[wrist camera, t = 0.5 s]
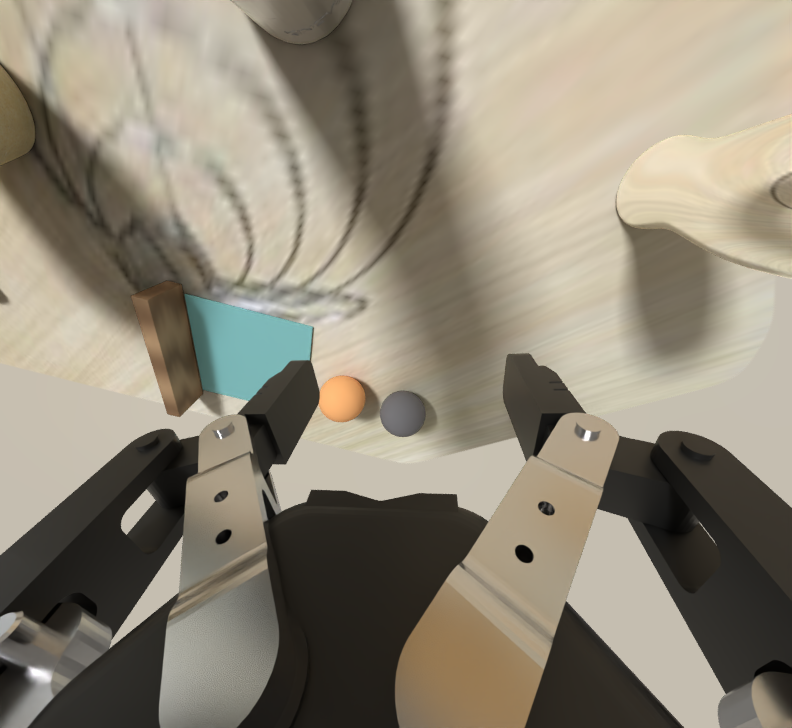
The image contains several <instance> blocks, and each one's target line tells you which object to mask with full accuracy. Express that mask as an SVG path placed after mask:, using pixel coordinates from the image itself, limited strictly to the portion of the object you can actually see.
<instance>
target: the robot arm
mask: <svg viewBox="0 0 792 728" xmlns="http://www.w3.org/2000/svg"><path fill="white" fill-rule="evenodd" d="M231 1H232V2H233V3H234V4H235V5H236V6H238V7H239V8H240V9H241V10H242V11H243V12H244V13H245V14H247V15H248V16H249V17H250V18H251V19H252V20H253V21H255V22H256V23H257V24H258V25H259V26H260V27H262V28H263V29H264V30H265V31H267V32H268V33H269V34H271V35H272V36H274V37H276V38H278V39H280V40H282V41H285V42H288V43H294V44H307V43H313V42H316V41H318V40H320V39H322V38H324V37H326V36H327V35H328V34H329V33H330V32H332V31H333V30H334V29H335V28H336V27H337V26H338V25H339V24H340V22H341V20H342V19H343V17H344V16H345V14H346V13H347V11H348V10H349V8H350V5H351V3H352V0H231ZM503 398H504V403H505V406H506V408H507V411H508V414H509V416H510V419H511V422H512V424H513V427H514V430H515V432H516V435H517V438H518V440H519V443H520V446H521V448H522V451H523V454H524V456H525V459H526V461H527V462H526V464H525V465H524V467H523V469H522V470H521V472H520V473H519V475H518V476H517V478H516V479H515V481H514V483H513V484H512V486H511V487H510V489H509V490H508V492H507V494H506V495H505V497H504V498H503V500H502V502H501V503H500V505H499V506H498V508H497V509H496V511H495V513H494V514H493V516H492V517H491V519H490V520H489V521H487V520H485V519H484V518H483V517H481V516H479V515H477V514H475V513H473V512H471V511H469V510H466V509H463V508H460V507H458V503H457V495H456V494H425V493H419V494H414V495H409V496H404V497H399V498H394V499H389V500H384V501H378V500H374V499H370V498H367V497H364V496H360V495H357V494H354V493H350V492H347V491H330V490H311V492H310V494H309V497H308V500H307V502H305V503H301V504H298V505H295V506H293V507H291V508H288V509H286V510H284V511H282V512H281V508H280V504H279V501H278V497H277V493H276V489H275V486H274V482H273V478H272V475H271V473H270V470H269V469H270V467H271V466H272V464H286V463H287V461H288V459H289V458H290V456H291V454H292V452H293V450H294V448H295V446H296V445H297V443H298V441H299V439H300V437H301V435H302V434H303V432H304V430H305V428H306V426H307V424H308V422H309V421H310V419H311V417H312V415H313V413H314V411H315V410H316V408H317V406H318V404H319V399H320V392H319V388H318V384H317V380H316V377H315V373H314V369H313V366H312V363H311V362H310V361H309V360H293V361H290V362H289V363H288V364H287V365H286V366H285V368H284V369H283V370H282V371H281V372H279V373H277V374H276V375H274V376H273V377H271V378H270V379H268V380H267V382H266V383H265V384H264V385H263V386H262V388H260V389H259V390H258V392H257V393H256V395H254V396H253V397H252V398H251V399H250V400H249V402H248V403H247V404H246V405H245V406H244V407H243V408H242V409H241V411H240V412H239V413H238V414H237V415H228V416H225V417H222V418H219V419H217V420H215V421H213V422H212V423H210V424H209V425H208V426H206V427H205V428H204V429H203V431H202V432H201V434H200V435H199V436H195V437H191V438H186V439H182V440H179V439H178V437H177V436H176V434H175V432H174V431H173V430H171V429H160V430H156V431H153V432H150V433H147V434H145V435H143V436H141V437H139V438H137V439H136V440H134V441H133V442H131V443H130V444H129V445H128V446H126V447H125V448H124V449H123V450H122V451H121V452H120V453H118V454H117V455H116V456H115V457H114V458H113V459H111V460H110V461H109V462H108V463H107V464H106V465H104V466H103V467H102V468H101V469H100V470H99V471H98V472H97V473H95V474H94V475H93V476H92V477H91V478H90V479H88V480H87V481H86V482H85V483H84V484H82V485H81V486H80V487H79V488H78V489H77V490H76V491H74V492H73V493H72V494H71V495H70V496H69V497H67V498H66V499H65V500H64V501H63V502H62V503H60V504H59V505H58V506H57V507H56V508H55V509H54V510H52V511H51V512H50V513H49V514H48V515H47V516H45V518H43V519H42V520H41V521H40V522H39V523H37V524H36V525H35V526H34V527H33V528H32V529H30V530H29V531H28V532H27V533H26V534H25V535H23V536H22V537H21V538H20V539H19V540H18V541H17V542H15V543H14V544H13V545H12V546H11V547H10V548H8V549H7V550H6V551H5V552H4V553H3V554H2V555H0V728H684V727H683V726H682V725H681V724H680V723H679V722H678V721H677V719H676V718H675V717H674V716H673V715H672V714H671V713H670V712H669V711H668V710H667V709H666V708H665V707H664V705H662V703H661V702H660V701H659V700H658V699H657V698H656V697H655V696H654V695H653V694H652V693H651V692H650V691H649V689H648V688H647V687H646V686H645V685H644V684H643V683H642V682H641V681H640V680H639V679H638V678H637V677H636V676H635V674H634V673H633V672H632V671H631V670H630V669H629V668H628V667H627V666H626V665H625V664H624V663H623V661H622V660H621V659H620V658H619V657H618V656H617V655H616V654H615V653H614V652H613V651H612V650H611V649H610V648H609V646H608V645H607V644H606V643H605V642H604V641H603V640H602V639H601V638H600V637H599V636H598V635H597V634H596V632H595V631H594V630H593V629H592V628H591V627H590V626H589V625H588V624H587V623H586V622H585V621H584V620H583V619H582V617H581V616H579V614H578V613H577V612H576V611H575V610H574V609H573V608H572V607H571V606H570V605H569V604H568V602H566V599H567V596H568V593H569V590H570V587H571V584H572V581H573V578H574V575H575V572H576V569H577V566H578V563H579V560H580V558H581V555H582V552H583V549H584V545H585V543H586V540H587V537H588V533H589V531H590V528H591V525H592V522H593V519H594V516H595V513H596V510H597V509H600V510H603V511H606V512H610V513H613V514H616V515H620V516H623V517H626V518H628V520H629V522H630V523H631V525H632V527H633V529H634V531H635V532H636V534H637V536H638V538H639V539H640V541H641V543H642V545H643V547H644V548H645V550H646V552H647V554H648V556H649V557H650V559H651V561H652V563H653V565H654V566H655V568H656V570H657V572H658V573H659V575H660V577H661V579H662V580H663V582H664V584H665V586H666V588H667V590H668V591H669V593H670V595H671V597H672V598H673V600H674V602H675V604H676V606H677V607H678V609H679V611H680V613H681V615H682V616H683V618H684V620H685V621H686V623H687V625H688V627H689V629H690V631H691V632H692V634H693V636H694V638H695V640H696V641H697V643H698V645H699V647H700V648H701V650H702V652H703V654H704V656H705V657H706V659H707V661H708V663H709V664H710V666H711V668H712V670H713V672H714V673H715V675H716V677H717V679H718V681H719V682H720V684H721V686H722V688H723V690H724V691H725V693H726V695H724V696H723V697H722V699H721V700H720V703H719V705H718V719H719V725H720V728H792V508H791V507H790V506H789V505H788V504H787V503H786V502H784V501H783V500H782V499H781V498H780V497H779V496H778V495H777V494H776V493H774V492H773V491H772V490H771V489H770V488H769V487H768V486H767V485H766V484H764V483H763V482H762V481H761V480H760V479H759V478H758V477H757V476H756V475H754V474H753V473H752V472H751V471H750V470H749V469H748V468H747V467H746V466H745V465H743V464H742V463H741V462H740V461H739V460H738V459H737V458H735V457H734V456H733V455H732V454H731V453H730V452H729V451H728V450H726V449H725V448H723V447H722V446H720V445H718V444H717V443H715V442H713V441H711V440H709V439H707V438H704V437H702V436H699V435H695V434H692V433H688V432H682V431H667V432H664V433H662V434H660V436H659V437H658V439H657V441H656V443H655V444H654V443H650V442H645V441H640V440H635V439H630V438H626V437H622V436H619V434H618V432H617V431H616V429H615V428H614V427H613V426H612V425H611V424H609V423H608V422H606V421H605V420H603V419H600V418H599V417H596V416H593V415H590V414H586V412H585V411H584V410H583V408H582V407H581V406H580V404H579V403H578V402H577V400H576V399H575V398H574V396H573V395H572V394H571V392H570V391H568V388H567V387H566V386H565V384H564V383H562V380H561V379H560V377H559V376H558V375H557V373H555V372H554V371H552V370H551V369H549V368H548V367H546V366H538V365H537V364H536V362H535V361H534V359H533V358H532V356H531V355H530V354H529V353H528V354H508V356H507V360H506V368H505V376H504V385H503ZM146 489H147V490H148V491H149V492H150V494H152V496H153V497H154V499H155V500H156V501H155V502H154V503H153V505H152V506H151V507H150V508H149V509H148V510H147V512H146V513H145V514H144V515H143V516H142V517H141V519H140V520H139V521H138V522H137V523H136V525H135V526H134V527H133V528H132V529H131V531H130V532H129V533H128V534H127V535H126V534H125V533H124V532H123V531H122V529H121V520H122V517H123V515H124V514H125V512H126V511H127V509H128V508H129V507H130V506H131V505H132V504H133V503H134V502H135V501H136V500H137V499H138V497H139V496H140V495H141V494H142V493H143V492H144V491H145V490H146ZM699 522H700V523H701V524H702V525H703V527H704V528H705V529H706V531H707V532H708V533H709V534H710V536H711V537H712V538H713V540H714V541H715V543H716V544H715V543H714V541H713V540H712V539H711V538H710V537H709V535H708V534H707V532H706V531H705V530H704V529H703V527H702V526H701V525H700V523H699ZM182 536H183V543H182V557H181V572H180V586H179V593H178V594H176V595H175V596H174V597H173V598H172V599H170V600H169V601H168V602H167V603H165V604H164V605H163V606H162V607H161V608H159V609H158V610H157V611H156V612H154V613H153V614H152V615H151V616H149V617H148V618H147V619H146V620H144V621H143V622H142V623H141V624H140V625H138V626H137V627H136V628H134V629H133V630H132V631H131V632H130V633H128V634H127V635H126V636H125V637H123V638H122V639H121V640H120V641H119V642H117V643H116V644H115V645H114V646H112V647H111V648H110V649H109V647H110V644H111V640H112V639H113V637H114V636H115V634H116V633H117V631H118V630H119V628H120V627H121V625H122V624H123V623H124V621H125V620H126V618H127V616H128V615H129V614H130V612H131V611H132V609H133V608H134V606H135V605H136V603H137V602H138V600H139V599H140V598H141V596H142V594H143V593H144V592H145V590H146V589H147V587H148V586H149V584H150V583H151V581H152V580H153V578H154V577H155V575H156V574H157V572H158V571H159V570H160V568H161V566H162V565H163V564H164V562H165V561H166V559H167V558H168V556H169V555H170V553H171V552H172V550H173V549H174V547H175V546H176V545H177V543H178V541H179V540H180V539H181V537H182Z"/></svg>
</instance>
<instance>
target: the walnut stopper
mask: <svg viewBox="0 0 792 728" xmlns="http://www.w3.org/2000/svg"><path fill="white" fill-rule="evenodd" d="M131 298H132V302H133V305H134V308H135V311H136V314H137V318H138V321H139V324H140V327H141V331H142V334H143V337H144V340H145V343H146V347H147V350H148V353H149V356H150V359H151V363H152V366H153V369H154V372H155V376H156V379H157V382H158V385H159V388H160V392H161V395H162V398H163V401H164V404H165V408H166V411H167V414H169V415H173V416H177V417H180V416H181V415H182V414H183V413H184V412H185V411H186V410H187V409H188V408H189V407H190V406H191V405H192V404H193V403H194V402H195V401H196V400H197V399H198V398H199V397H200V396H201V395H202V394H203V391H202V386H201V381H200V376H199V370H198V365H197V360H196V355H195V350H194V345H193V340H192V335H191V330H190V325H189V319H188V314H187V309H186V304H185V299H184V294H183V289H182V284H179V283H175V282H171V281H165V282H162V283H160V284H158V285H155V286H153V287H151V288H148V289H146V290H143V291H141V292H139V293H136V294H134V295H132V296H131Z"/></svg>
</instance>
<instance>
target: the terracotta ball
mask: <svg viewBox="0 0 792 728" xmlns="http://www.w3.org/2000/svg"><path fill="white" fill-rule="evenodd" d="M364 405H365V392H364V389H363V388H362V386H361V384H360V383H359V382H358V381H357V380H355V379H353V378H351V377H348V376H336V377H333V378H331V379H329V380H328V381H327V382H326V383H325V384H324V385H323V386H322V388H321V390H320V399H319V407H320V409H321V411H322V413H323V414H324V415H325V416H326V417H327V418H329V419H330V420H333V421H336V422H347V421H350V420H352V419H354V418H356V417H357V416H358V415H359V414H360V413H361V411H362V409H363V407H364Z"/></svg>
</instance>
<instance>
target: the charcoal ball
mask: <svg viewBox="0 0 792 728" xmlns="http://www.w3.org/2000/svg"><path fill="white" fill-rule="evenodd" d="M425 415H426V412H425V407H424V404H423V402H422V401H421V399H420V398H419V397H418V396H416V395H415V394H413V393H411V392H408V391H397V392H394V393H392V394H390V395H389V396H388V397H387V398H386V399H385V400H384V402H383V403H382V406H381V409H380V418H381V422H382V424H383V426H384V427H385V429H386V430H387V431H388V432H390V433H391V434H393V435H395V436H399V437H407V436H411V435H413V434H415V433H416V432H418V431H419V430H420V428H421V427H422V425H423V424H424V421H425Z"/></svg>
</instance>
